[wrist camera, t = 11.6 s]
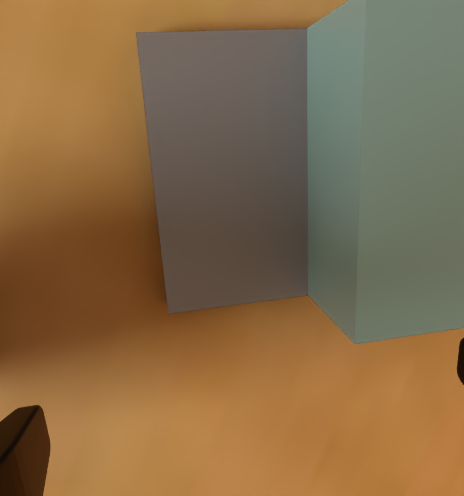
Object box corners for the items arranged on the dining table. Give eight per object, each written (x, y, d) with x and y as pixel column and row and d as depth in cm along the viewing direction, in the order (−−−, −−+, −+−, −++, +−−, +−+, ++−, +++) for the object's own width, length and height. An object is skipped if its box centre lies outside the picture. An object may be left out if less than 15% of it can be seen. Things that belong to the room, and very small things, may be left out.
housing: (307, 294, 20) (354, 344, 16) (307, 28, 17) (366, -12, 12) (417, 281, 21) (492, 323, 17) (437, 25, 18) (538, -13, 13)
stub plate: (167, 303, 20) (171, 345, 16) (137, 39, 17) (132, 11, 13) (516, 258, 24) (589, 284, 20) (549, 28, 20) (646, 2, 16)
